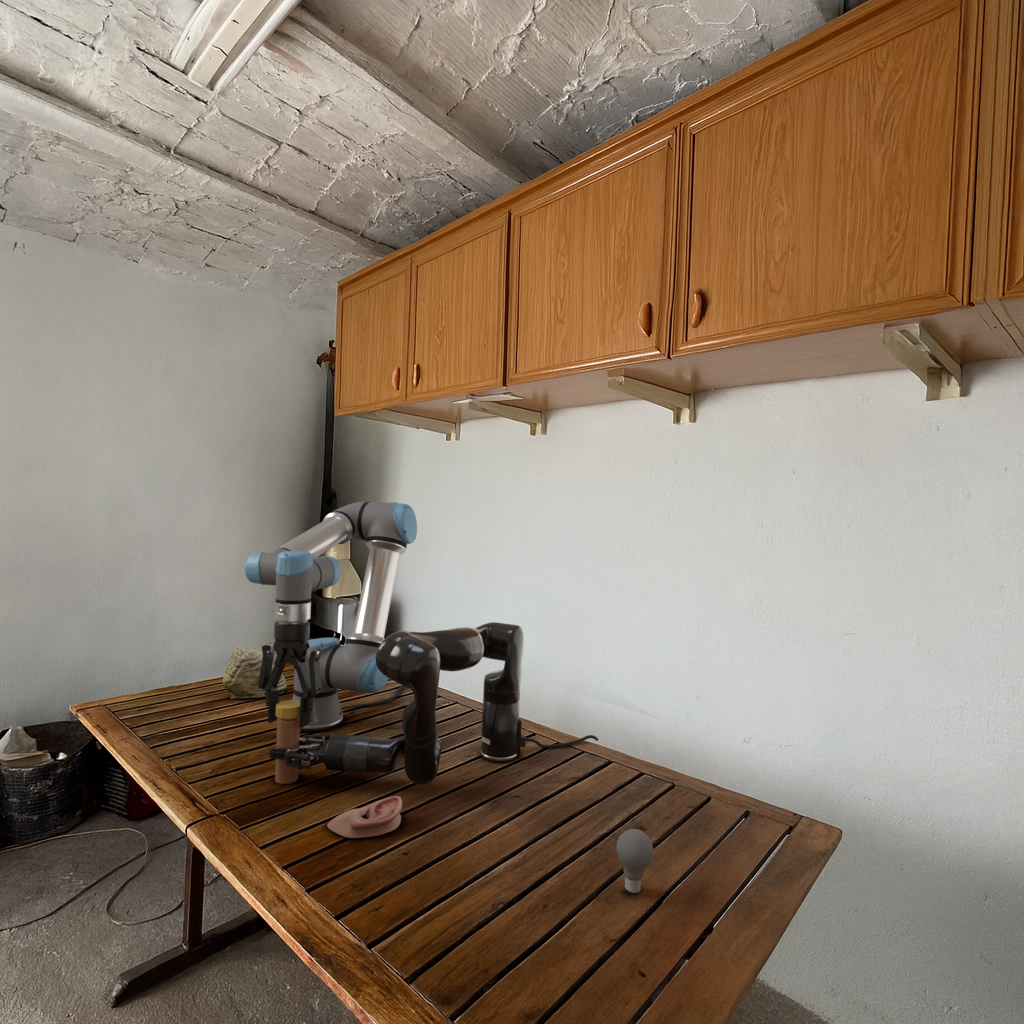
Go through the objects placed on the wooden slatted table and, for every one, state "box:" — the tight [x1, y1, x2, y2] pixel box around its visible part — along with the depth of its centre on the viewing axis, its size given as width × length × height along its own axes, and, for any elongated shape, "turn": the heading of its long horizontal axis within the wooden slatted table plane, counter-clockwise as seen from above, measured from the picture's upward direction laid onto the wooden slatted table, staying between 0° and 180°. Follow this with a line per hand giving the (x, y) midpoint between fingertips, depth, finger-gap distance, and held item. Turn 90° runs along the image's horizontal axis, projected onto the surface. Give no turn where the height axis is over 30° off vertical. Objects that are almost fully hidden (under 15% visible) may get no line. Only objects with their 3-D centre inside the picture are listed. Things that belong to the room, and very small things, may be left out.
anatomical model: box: [327, 795, 403, 839], centre depth 123 cm, size 13×4×12 cm
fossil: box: [222, 646, 288, 699], centre depth 198 cm, size 9×18×15 cm, turn 132°
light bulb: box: [615, 828, 654, 894], centre depth 106 cm, size 6×6×10 cm
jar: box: [274, 716, 301, 785], centre depth 141 cm, size 5×5×16 cm
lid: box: [275, 699, 300, 719], centre depth 141 cm, size 6×6×2 cm
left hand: (288, 723), depth 141 cm, fingers open, 7 cm apart
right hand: (276, 748), depth 141 cm, fingers closed on jar, 5 cm apart
